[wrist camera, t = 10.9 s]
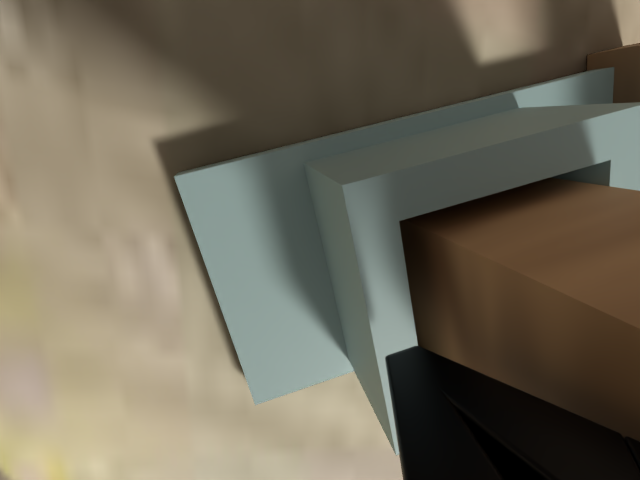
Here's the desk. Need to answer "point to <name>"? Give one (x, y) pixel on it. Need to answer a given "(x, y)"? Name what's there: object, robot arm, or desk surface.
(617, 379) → the wooden block
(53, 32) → the desk surface
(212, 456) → the desk surface
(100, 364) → the desk surface
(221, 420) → the desk surface
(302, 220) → the carriage
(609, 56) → the backstop
